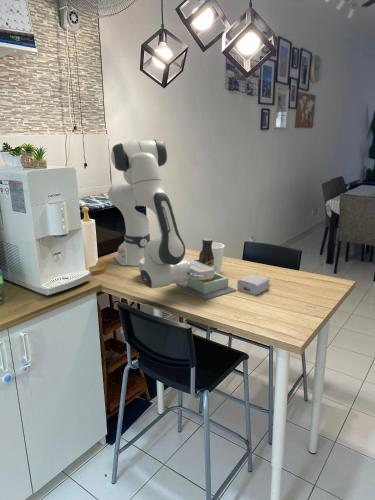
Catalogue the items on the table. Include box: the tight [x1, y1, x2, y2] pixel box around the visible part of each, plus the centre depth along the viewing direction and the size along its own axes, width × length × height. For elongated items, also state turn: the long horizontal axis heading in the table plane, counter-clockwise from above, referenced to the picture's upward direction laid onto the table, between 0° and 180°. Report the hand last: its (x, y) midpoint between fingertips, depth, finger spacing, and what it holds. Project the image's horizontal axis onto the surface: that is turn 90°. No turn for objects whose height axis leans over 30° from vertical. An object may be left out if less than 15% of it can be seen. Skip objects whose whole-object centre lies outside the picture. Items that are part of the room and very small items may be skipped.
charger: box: [236, 273, 271, 296], centre depth 158 cm, size 5×9×15 cm
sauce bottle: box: [198, 237, 214, 283], centre depth 156 cm, size 7×6×20 cm
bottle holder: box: [187, 272, 229, 294], centre depth 158 cm, size 11×12×4 cm
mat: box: [175, 281, 238, 301], centre depth 158 cm, size 20×16×1 cm
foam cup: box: [212, 242, 225, 275], centre depth 174 cm, size 10×9×13 cm
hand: (208, 264), depth 156 cm, fingers open, 8 cm apart
